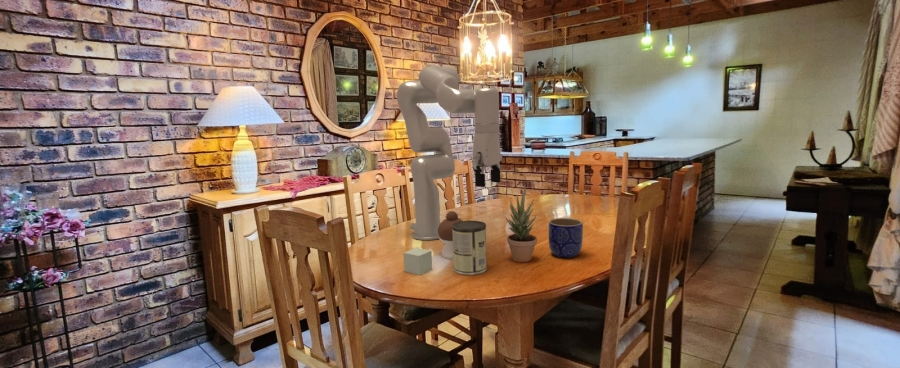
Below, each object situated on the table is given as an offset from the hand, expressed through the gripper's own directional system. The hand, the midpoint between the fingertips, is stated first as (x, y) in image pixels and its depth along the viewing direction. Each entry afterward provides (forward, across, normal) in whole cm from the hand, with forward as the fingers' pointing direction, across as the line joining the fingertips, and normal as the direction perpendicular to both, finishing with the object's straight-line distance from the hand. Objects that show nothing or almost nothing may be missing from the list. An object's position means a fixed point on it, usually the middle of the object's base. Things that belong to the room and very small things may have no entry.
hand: (488, 184), depth 142 cm
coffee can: (+25, +10, -1) cm, 27 cm away
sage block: (+25, +18, -15) cm, 34 cm away
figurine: (+25, 0, -14) cm, 29 cm away
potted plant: (+25, -7, +8) cm, 27 cm away
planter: (+25, -17, +19) cm, 36 cm away
